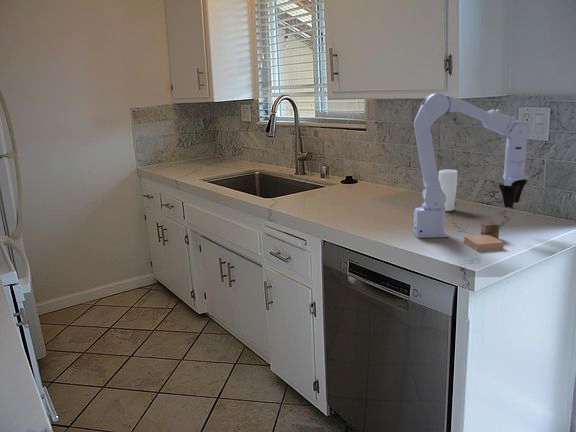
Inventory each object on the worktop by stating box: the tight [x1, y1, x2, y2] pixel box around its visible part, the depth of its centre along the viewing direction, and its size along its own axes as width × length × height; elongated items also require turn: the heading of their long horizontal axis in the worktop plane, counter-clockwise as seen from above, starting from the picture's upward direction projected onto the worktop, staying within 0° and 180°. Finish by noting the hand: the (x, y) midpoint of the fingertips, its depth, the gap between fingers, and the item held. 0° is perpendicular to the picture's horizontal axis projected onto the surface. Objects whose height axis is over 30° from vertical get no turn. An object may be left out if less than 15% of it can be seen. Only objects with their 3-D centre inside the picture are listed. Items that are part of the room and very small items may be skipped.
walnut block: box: [480, 221, 500, 240], centre depth 158 cm, size 4×4×5 cm
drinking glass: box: [438, 168, 458, 212], centre depth 194 cm, size 7×7×15 cm
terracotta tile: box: [463, 234, 504, 252], centre depth 152 cm, size 8×8×2 cm
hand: (511, 204), depth 160 cm, fingers open, 7 cm apart
